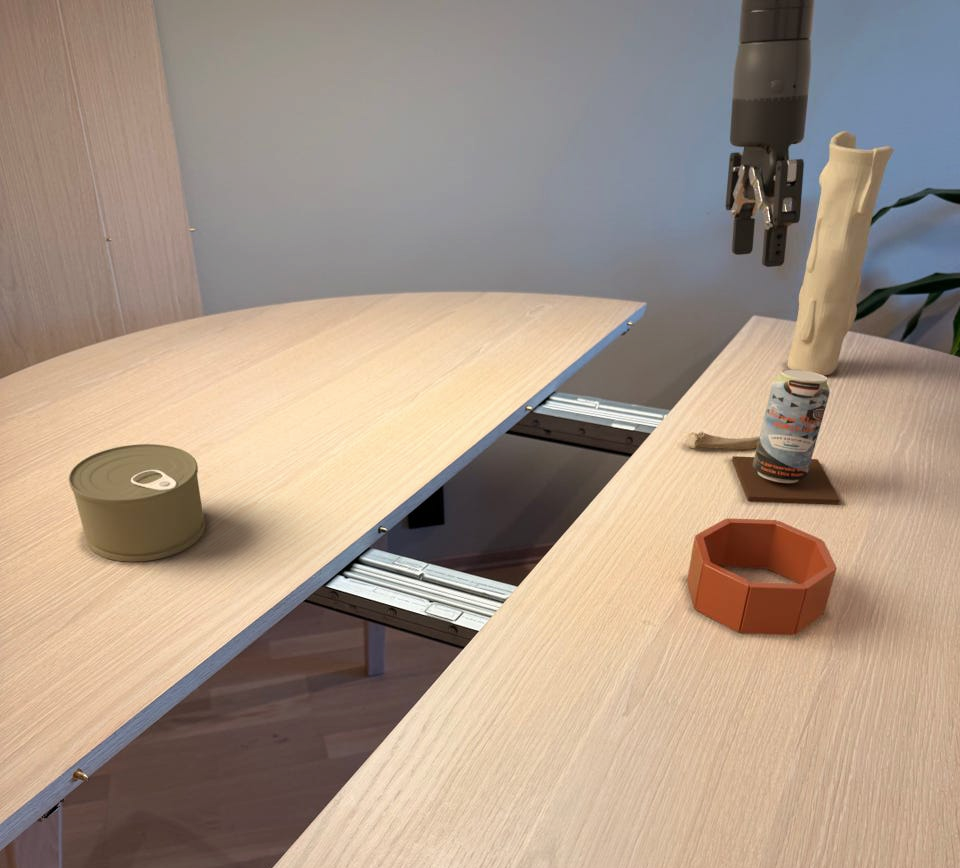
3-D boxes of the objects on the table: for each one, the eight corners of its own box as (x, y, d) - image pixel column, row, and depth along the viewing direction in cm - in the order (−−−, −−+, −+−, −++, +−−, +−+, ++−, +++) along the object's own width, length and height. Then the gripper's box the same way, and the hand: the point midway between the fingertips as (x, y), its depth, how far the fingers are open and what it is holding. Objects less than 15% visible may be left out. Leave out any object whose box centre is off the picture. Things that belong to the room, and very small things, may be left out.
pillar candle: (773, 357, 143) (820, 129, 126) (829, 356, 144) (883, 129, 127) (794, 379, 137) (847, 141, 119) (853, 378, 137) (914, 142, 120)
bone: (780, 448, 119) (784, 432, 117) (691, 453, 117) (694, 437, 116) (772, 439, 121) (775, 423, 119) (684, 444, 119) (686, 428, 118)
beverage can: (747, 485, 109) (768, 381, 102) (756, 458, 115) (776, 358, 108) (804, 495, 108) (830, 391, 101) (811, 467, 113) (835, 367, 106)
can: (154, 492, 106) (142, 433, 102) (231, 526, 101) (223, 465, 97) (58, 537, 98) (42, 475, 94) (137, 576, 93) (123, 512, 89)
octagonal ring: (802, 565, 97) (814, 521, 94) (834, 636, 88) (848, 590, 85) (681, 561, 97) (689, 516, 94) (699, 632, 88) (708, 585, 85)
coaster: (816, 463, 116) (817, 458, 115) (839, 504, 108) (840, 499, 107) (731, 460, 116) (732, 456, 115) (747, 501, 108) (748, 496, 107)
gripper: (837, 91, 95) (817, 267, 103) (776, 89, 107) (762, 247, 115) (763, 96, 94) (749, 273, 102) (710, 94, 106) (701, 252, 115)
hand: (756, 259), depth 109 cm, fingers open, 8 cm apart
